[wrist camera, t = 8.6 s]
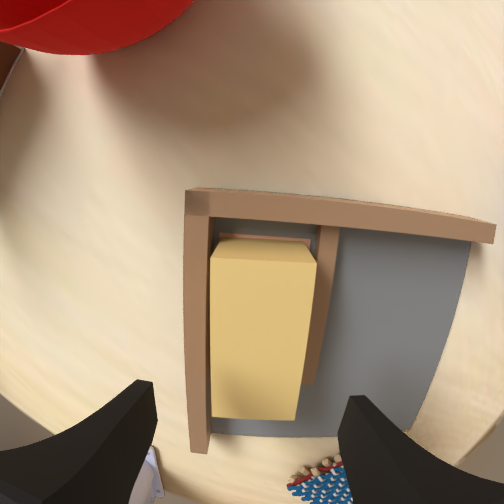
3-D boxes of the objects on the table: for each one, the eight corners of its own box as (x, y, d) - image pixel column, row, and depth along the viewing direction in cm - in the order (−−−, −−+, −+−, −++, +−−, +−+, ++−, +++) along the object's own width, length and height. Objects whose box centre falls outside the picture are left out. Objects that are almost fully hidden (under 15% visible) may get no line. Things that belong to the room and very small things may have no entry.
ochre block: (303, 241, 18) (317, 263, 13) (288, 374, 20) (294, 420, 15) (222, 236, 18) (210, 257, 13) (220, 371, 20) (211, 416, 16)
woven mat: (421, 463, 23) (426, 477, 21) (333, 505, 25) (335, 519, 23) (388, 422, 21) (395, 440, 19) (281, 474, 23) (281, 491, 21)
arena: (407, 424, 22) (419, 447, 19) (196, 425, 22) (190, 452, 19) (470, 217, 18) (496, 224, 15) (197, 187, 18) (185, 190, 15)
